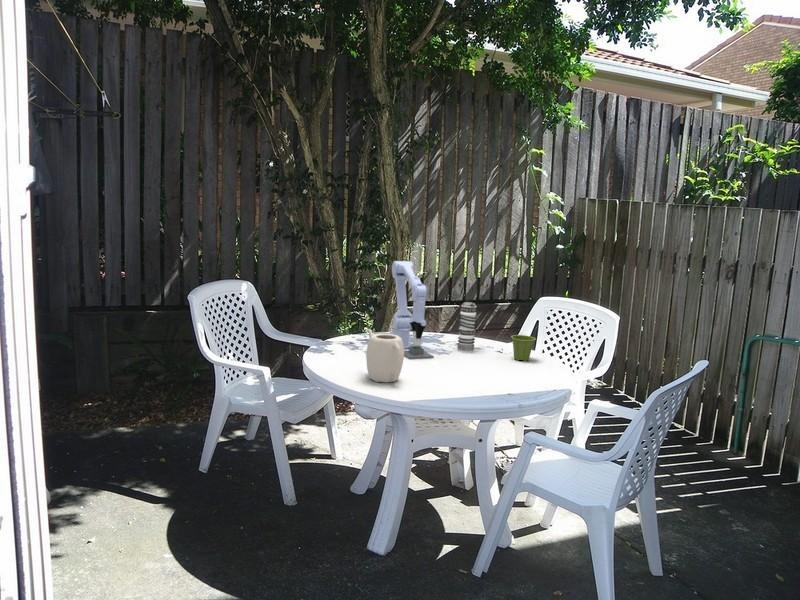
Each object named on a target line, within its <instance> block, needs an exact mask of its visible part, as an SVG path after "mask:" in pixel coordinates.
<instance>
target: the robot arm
mask: <svg viewBox="0 0 800 600" xmlns="http://www.w3.org/2000/svg"><path fill="white" fill-rule="evenodd" d="M414 269H415V268H414V263H413V262H412V260H409V261H408V260H407V261H406V260H405V261H402V260H394V261H393V262H392V264H391V273H392V278H393V279H394V280H395V290H396V291H395V292H396V303H397V311H396V312H395V313H394V314H393V316H392V327H393V329H392V330H391V331H390V332H391V333H390V334H394V335H397V336H399V337H400V338H402V342H403V345H404V350H405V349H409V346H411V345H410V335H411V334H410V332H411V331H412V332H413V331H416V338H417V339H421V340H422V336H423V334H424V333H423V332H424V330H425V328H426V327H427V322H426V320H425V313H426V312H425V311H426V298H427V297H428V296H429V288H428V286H427V285H425V284H423V283H422V281H421V279H420V278H419V277H418V276H416V275H415V272H414ZM407 279H408V285H409V287H410V288H411V294H412V295H411V296H412V301H413V302H412V303H413V304H412V312H410V311H409V310H408V301H407V300H408V299H407V288H406V286H407V285H406V280H407Z"/></svg>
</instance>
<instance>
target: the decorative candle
mask: <svg viewBox="0 0 800 600" xmlns="http://www.w3.org/2000/svg"><path fill="white" fill-rule="evenodd" d="M460 307H461V308H460V312H459V313H458V315H459V316H458V318H459V319H458V325H459V326H458V329H459V332H458V337H457V342H458V343H457V347H456V348H457V352H459V353H464V354H472V353H474V352H475V351H474V350H475V340H476V338H475V330H476V328H477V327H476V326H477V324H476V322H478V320H477V319H478V317H477V307H478V306H477V305H476V303H475V302H471V301H469V302H468V301H465V302H463V303H462V304H460Z"/></svg>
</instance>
